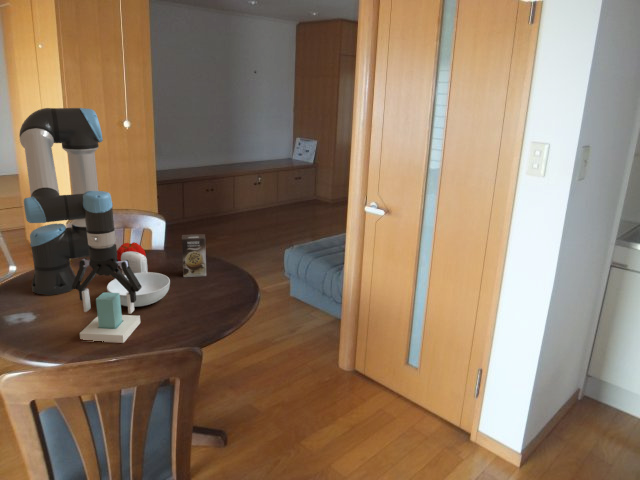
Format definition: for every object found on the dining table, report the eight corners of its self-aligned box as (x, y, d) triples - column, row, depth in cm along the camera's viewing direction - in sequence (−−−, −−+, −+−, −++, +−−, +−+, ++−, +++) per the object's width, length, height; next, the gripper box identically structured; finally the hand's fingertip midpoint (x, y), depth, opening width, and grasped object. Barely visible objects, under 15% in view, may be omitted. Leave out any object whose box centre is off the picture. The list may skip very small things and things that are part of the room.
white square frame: (80, 340, 147) (79, 333, 146) (100, 320, 159) (99, 313, 158) (123, 342, 146) (122, 335, 145) (140, 322, 159) (139, 315, 158)
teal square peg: (99, 335, 150) (95, 299, 147) (107, 327, 155) (103, 292, 151) (116, 335, 150) (112, 299, 147) (122, 328, 155) (119, 293, 151)
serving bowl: (126, 287, 185) (124, 270, 183) (179, 291, 184) (178, 274, 181) (96, 311, 166) (94, 292, 164) (156, 316, 164) (154, 297, 162)
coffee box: (183, 277, 196) (181, 239, 191) (183, 271, 202) (181, 234, 197) (206, 276, 198) (205, 238, 193) (206, 270, 204) (204, 233, 199)
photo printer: (150, 282, 190) (148, 252, 187) (142, 286, 186) (140, 255, 183) (128, 278, 194) (126, 248, 190) (121, 282, 190) (118, 251, 186)
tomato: (118, 261, 211) (116, 241, 208) (147, 260, 214) (146, 240, 211) (114, 270, 201) (112, 249, 198) (145, 268, 204) (143, 248, 201)
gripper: (53, 247, 141) (62, 314, 147) (139, 250, 140) (145, 317, 146) (67, 239, 148) (75, 304, 154) (149, 242, 147) (154, 307, 154)
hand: (109, 310), depth 150 cm, fingers open, 13 cm apart
